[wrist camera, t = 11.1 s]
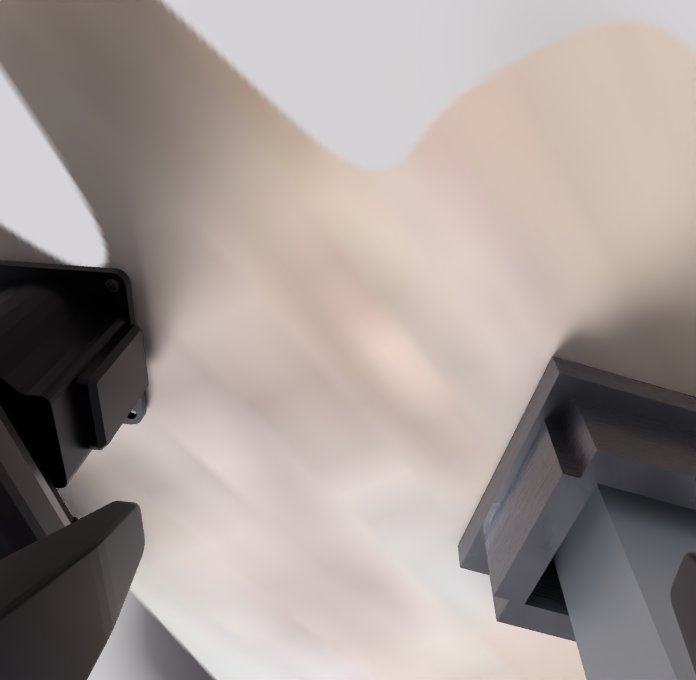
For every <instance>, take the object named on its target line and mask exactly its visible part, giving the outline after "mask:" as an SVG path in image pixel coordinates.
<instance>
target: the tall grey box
mask: <svg viewBox="0 0 696 680" xmlns="http://www.w3.org/2000/svg"><path fill="white" fill-rule="evenodd" d="M689 552H695V553H696V510H693V509H690V508H686V507H682V506H679V505H675V504H671V503H668V502H664V501H660V500H657V499H653V498H649V497H646V496H642V495H639V494H635V493H631V492H628V491H624V490H620V489H617V488H613V487H609V486H606V485H602V484H597V485H596V487H595V489H594V490H593V492H592V494H591V495H590V497H589V499H588V500H587V502H586V503H585V505H584V507H583V508H582V510H581V512H580V513H579V515H578V517H577V518H576V520H575V522H574V523H573V525H572V527H571V528H570V530H569V532H568V533H567V535H566V537H565V538H564V540H563V541H562V543H561V545H560V546H559V548H558V550H557V551H556V553H555V555H554V556H553V559H554V562H555V566H556V570H557V573H558V577H559V581H560V584H561V588H562V591H563V595H564V599H565V602H566V606H567V610H568V613H569V617H570V621H571V624H572V628H573V631H574V635H575V639H576V642H577V646H578V650H579V653H580V657H581V660H582V664H583V668H584V671H585V675H586V679H587V680H696V676H695V673H694V670H693V667H692V664H691V661H690V658H689V655H688V652H687V649H686V646H685V643H684V640H683V637H682V634H681V631H680V628H679V626H678V623H677V620H676V617H675V614H674V611H673V608H672V604H671V599H670V591H671V586H672V583H673V581H674V578H675V576H676V573H677V571H678V568H679V566H680V563H681V561H682V558H683V556H684V555H685V554H687V553H689Z"/></svg>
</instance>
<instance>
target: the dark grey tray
mask: <svg viewBox="0 0 696 680" xmlns="http://www.w3.org/2000/svg"><path fill="white" fill-rule="evenodd" d="M597 484H602V485H606V486H609V487H613V488H617V489H620V490H624V491H628V492H631V493H635V494H639V495H642V496H646V497H649V498H653V499H657V500H660V501H664V502H668V503H671V504H675V505H679V506H682V507H686V508H690V509H693V510H696V397H693V396H689V395H686V394H682V393H678V392H675V391H671V390H668V389H664V388H661V387H657V386H654V385H650V384H647V383H643V382H640V381H636V380H633V379H629V378H626V377H622V376H619V375H615V374H612V373H608V372H605V371H601V370H598V369H594V368H591V367H587V366H584V365H580V364H577V363H573V362H570V361H566V360H563V359H559V358H556V357H552V358H551V360H550V362H549V364H548V366H547V369H546V371H545V373H544V375H543V377H542V379H541V381H540V383H539V385H538V387H537V389H536V391H535V393H534V395H533V397H532V399H531V401H530V403H529V405H528V407H527V409H526V411H525V413H524V415H523V417H522V419H521V421H520V423H519V425H518V427H517V429H516V431H515V433H514V435H513V437H512V439H511V441H510V443H509V445H508V447H507V449H506V451H505V453H504V455H503V457H502V459H501V461H500V463H499V465H498V467H497V469H496V471H495V473H494V475H493V477H492V479H491V481H490V483H489V485H488V487H487V489H486V491H485V493H484V495H483V497H482V499H481V501H480V503H479V505H478V507H477V509H476V511H475V513H474V515H473V517H472V519H471V521H470V523H469V525H468V527H467V529H466V531H465V533H464V535H463V537H462V539H461V541H460V543H459V545H458V551H459V560H460V567H461V568H464V569H468V570H472V571H476V572H480V573H483V574H487V575H490V580H491V587H492V593H493V600H494V606H495V613H496V619H497V621H498V622H502V623H506V624H510V625H514V626H518V627H522V628H525V629H529V630H533V631H537V632H541V633H545V634H549V635H553V636H556V637H560V638H564V639H568V640H572V641H576V639H575V635H574V631H573V628H572V624H571V621H570V617H569V613H568V610H567V606H566V602H565V599H564V595H563V591H562V588H561V584H560V581H559V577H558V573H557V570H556V566H555V562H554V559H553V556H554V555H555V553H556V551H557V550H558V548H559V546H560V545H561V543H562V541H563V540H564V538H565V537H566V535H567V533H568V532H569V530H570V528H571V527H572V525H573V523H574V522H575V520H576V518H577V517H578V515H579V513H580V512H581V510H582V508H583V507H584V505H585V503H586V502H587V500H588V499H589V497H590V495H591V494H592V492H593V490H594V489H595V487H596V485H597Z"/></svg>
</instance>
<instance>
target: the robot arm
mask: <svg viewBox="0 0 696 680" xmlns="http://www.w3.org/2000/svg"><path fill="white" fill-rule="evenodd" d="M110 279H113V280H115V281H116V282H118V284H119V288H116V287H113V286H112V285H111V283H110ZM147 387H148V377H147V369H146V361H145V352H144V344H143V336H142V330H141V329H140V328H139V326H138V325H137V324H135V316H134V308H133V300H132V292H131V285H130V280H129V277H128V276H127V275H126V274H125V273H124V272H123V271H121V270H119V269H114V268H100V267H85V266H71V265H56V264H42V263H27V262H13V261H0V680H87V679H88V677H89V675H90V673H91V671H92V669H93V667H94V665H95V664H96V662H97V660H98V658H99V656H100V654H101V652H102V650H103V648H104V647H105V645H106V643H107V640H108V639H109V637H110V635H111V633H112V631H113V629H114V626H115V624H116V621H117V619H118V617H119V614H120V611H121V609H122V606H123V603H124V601H125V598H126V596H127V593H128V591H129V588H130V586H131V583H132V581H133V578H134V575H135V573H136V570H137V568H138V565H139V562H140V560H141V557H142V554H143V551H144V545H145V537H144V530H143V523H142V516H141V510H140V507H139V505H138V504H137V503H134V502H123V501H115V502H112V503H110V504H108V505H106V506H104V507H102V508H100V509H98V510H96V511H94V512H93V513H91V514H89V515H87V516H85V517H83V518H81V519H79V520H78V519H77V518H76V517H72V515H71V514H70V512H69V510H68V509H67V507H66V505H65V504H64V502H63V500H62V498H61V497H60V495H59V493H58V492H57V490H56V488H64V487H65V486H66V485H67V484H68V483H69V481H70V480H71V479H72V477H73V476H74V474H75V473H76V471H77V470H78V469H79V467H80V466H81V464H82V463H83V462H84V460H85V459H86V457H87V456H88V455H89V453H90V452H91V450H92V449H93V450H102V449H103V448H104V447H106V446H107V445H108V444H109V442H110V441H111V440H112V438H113V437H114V435H115V434H116V432H117V431H118V429H119V428H120V426H121V425H122V423H123V424H137V423H139V422H140V421H141V420H142V418H143V417H144V415H145V414H146V403H145V395H144V391H145V390H146V388H147ZM132 409H133V410H134V411H135V412H136V414H134V413H131V410H132ZM670 599H671V604H672V608H673V611H674V614H675V617H676V620H677V623H678V626H679V628H680V631H681V634H682V637H683V640H684V643H685V646H686V649H687V652H688V655H689V658H690V661H691V664H692V667H693V670H694V673H695V676H696V553H695V552H689V553H687V554H685V555H684V556H683V558H682V561H681V563H680V566H679V568H678V571H677V573H676V576H675V578H674V581H673V583H672V586H671V591H670Z"/></svg>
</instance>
